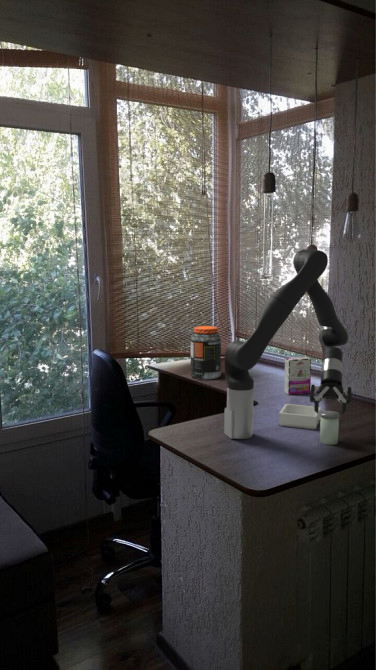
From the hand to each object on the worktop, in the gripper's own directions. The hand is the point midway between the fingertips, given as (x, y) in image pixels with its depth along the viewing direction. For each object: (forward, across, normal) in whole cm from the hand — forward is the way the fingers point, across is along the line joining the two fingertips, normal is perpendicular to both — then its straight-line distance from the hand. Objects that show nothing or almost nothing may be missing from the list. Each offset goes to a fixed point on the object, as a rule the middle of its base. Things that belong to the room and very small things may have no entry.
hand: (330, 413), depth 189 cm
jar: (+9, 0, +4) cm, 10 cm away
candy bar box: (-36, -15, +49) cm, 63 cm away
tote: (-5, -11, +17) cm, 21 cm away
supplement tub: (-51, -63, +64) cm, 104 cm away
